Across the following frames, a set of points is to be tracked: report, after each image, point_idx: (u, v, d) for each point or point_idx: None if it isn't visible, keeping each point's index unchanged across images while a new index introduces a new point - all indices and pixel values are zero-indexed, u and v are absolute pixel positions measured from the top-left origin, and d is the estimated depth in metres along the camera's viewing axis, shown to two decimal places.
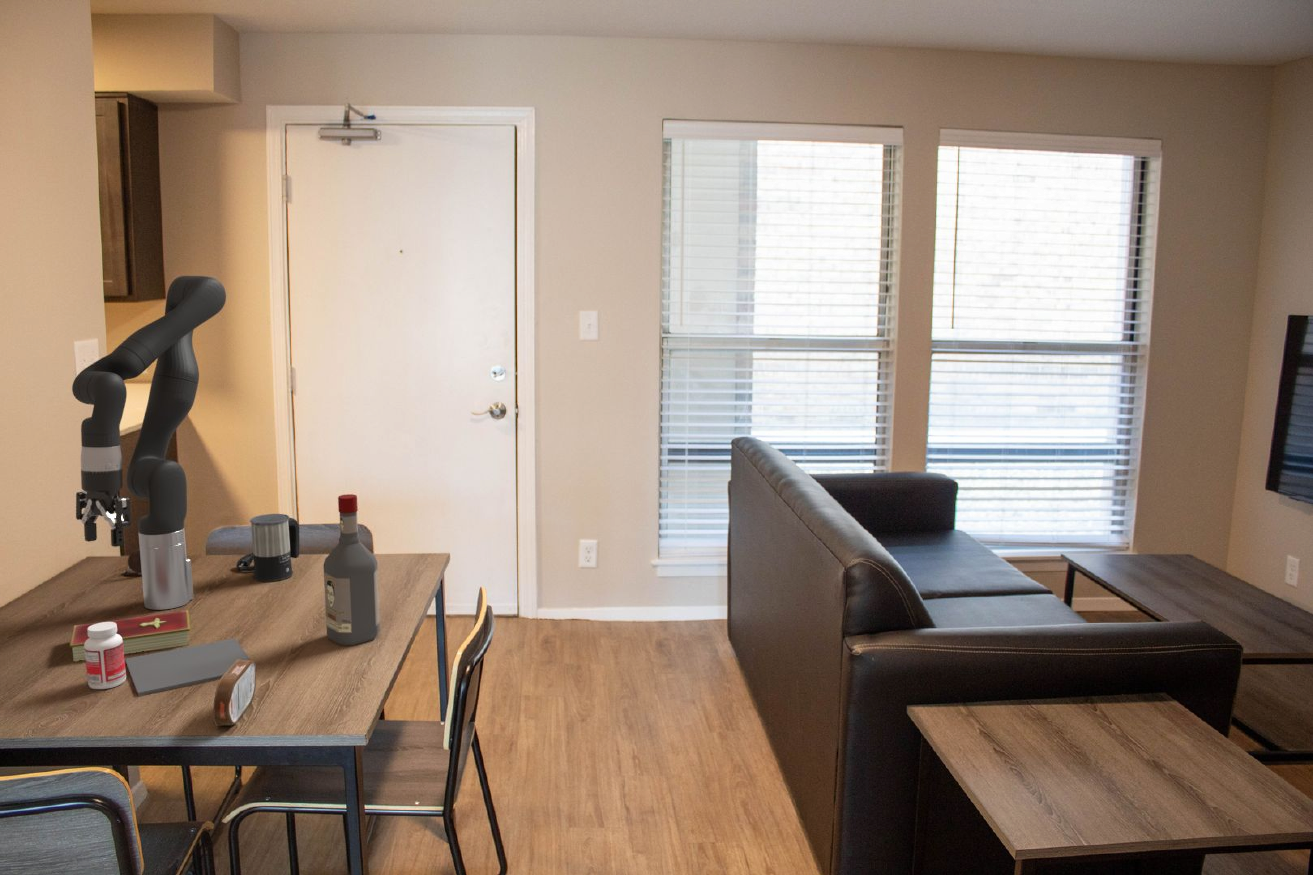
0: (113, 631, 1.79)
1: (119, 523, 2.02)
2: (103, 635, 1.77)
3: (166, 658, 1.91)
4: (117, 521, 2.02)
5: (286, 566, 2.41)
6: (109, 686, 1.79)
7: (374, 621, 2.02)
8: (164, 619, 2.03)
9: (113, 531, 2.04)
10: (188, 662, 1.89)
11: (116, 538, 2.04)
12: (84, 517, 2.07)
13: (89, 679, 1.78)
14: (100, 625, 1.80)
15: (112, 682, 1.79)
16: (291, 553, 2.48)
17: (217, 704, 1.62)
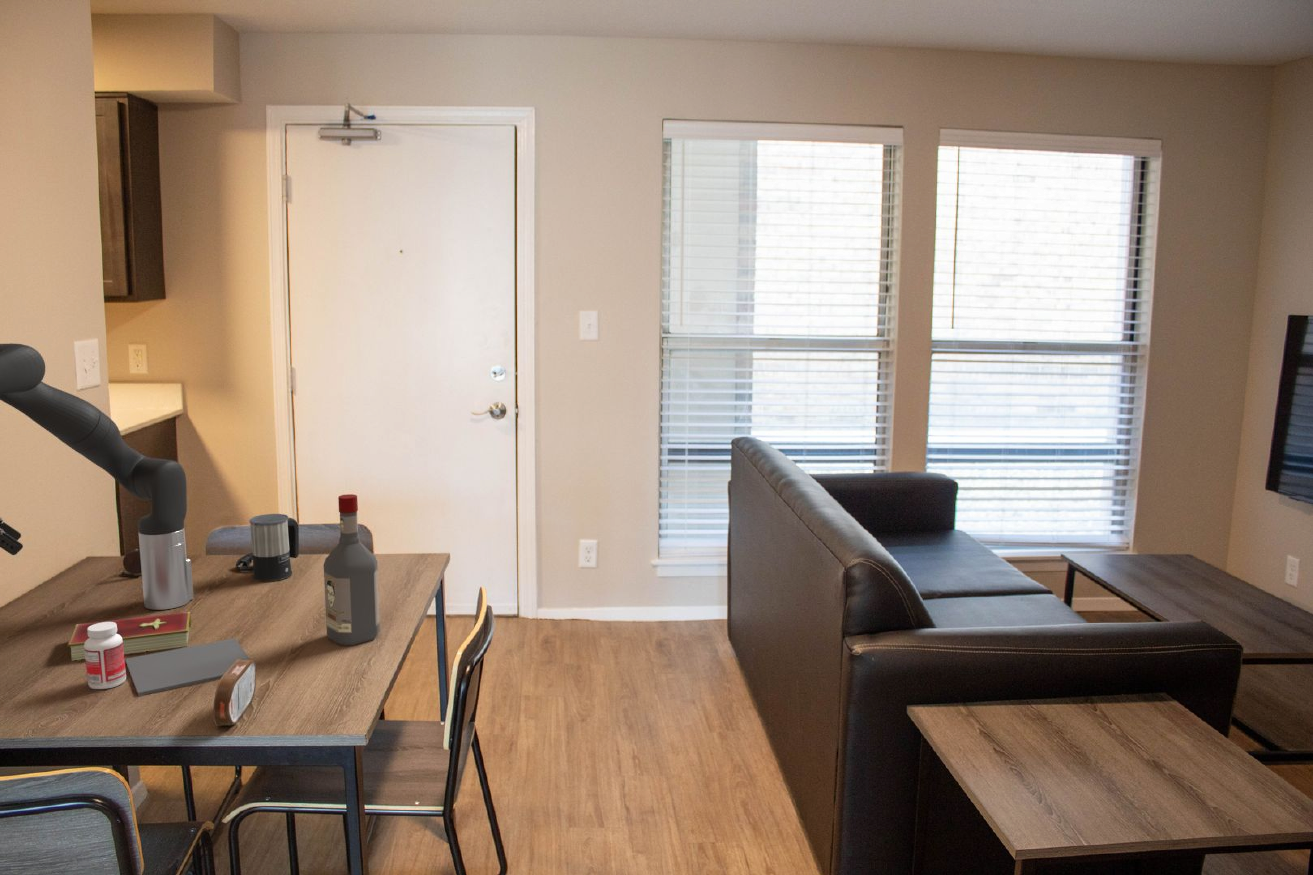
0: (113, 631, 1.79)
1: None
2: (103, 635, 1.77)
3: (166, 658, 1.91)
4: None
5: (285, 566, 2.41)
6: (109, 686, 1.79)
7: (374, 621, 2.02)
8: (165, 620, 2.03)
9: None
10: (188, 662, 1.89)
11: (6, 548, 1.66)
12: None
13: (89, 679, 1.78)
14: (100, 625, 1.80)
15: (112, 682, 1.79)
16: (290, 553, 2.48)
17: (217, 704, 1.62)
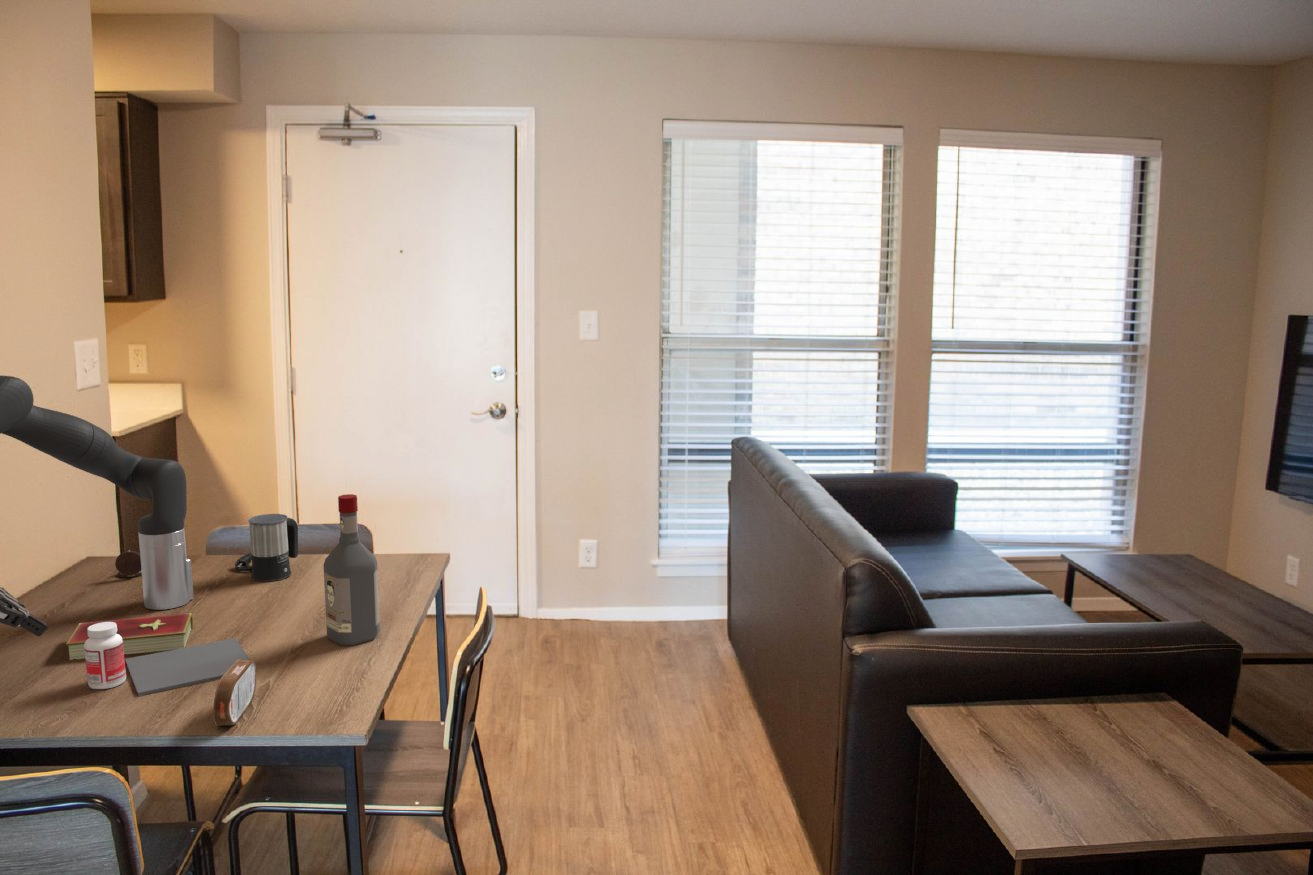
0: (113, 631, 1.79)
1: None
2: (103, 635, 1.77)
3: (166, 658, 1.91)
4: None
5: (284, 566, 2.41)
6: (109, 686, 1.79)
7: (374, 621, 2.02)
8: (165, 621, 2.02)
9: (23, 626, 1.71)
10: (188, 662, 1.89)
11: None
12: None
13: (89, 679, 1.78)
14: (100, 625, 1.80)
15: (112, 682, 1.79)
16: (290, 553, 2.48)
17: (217, 704, 1.62)
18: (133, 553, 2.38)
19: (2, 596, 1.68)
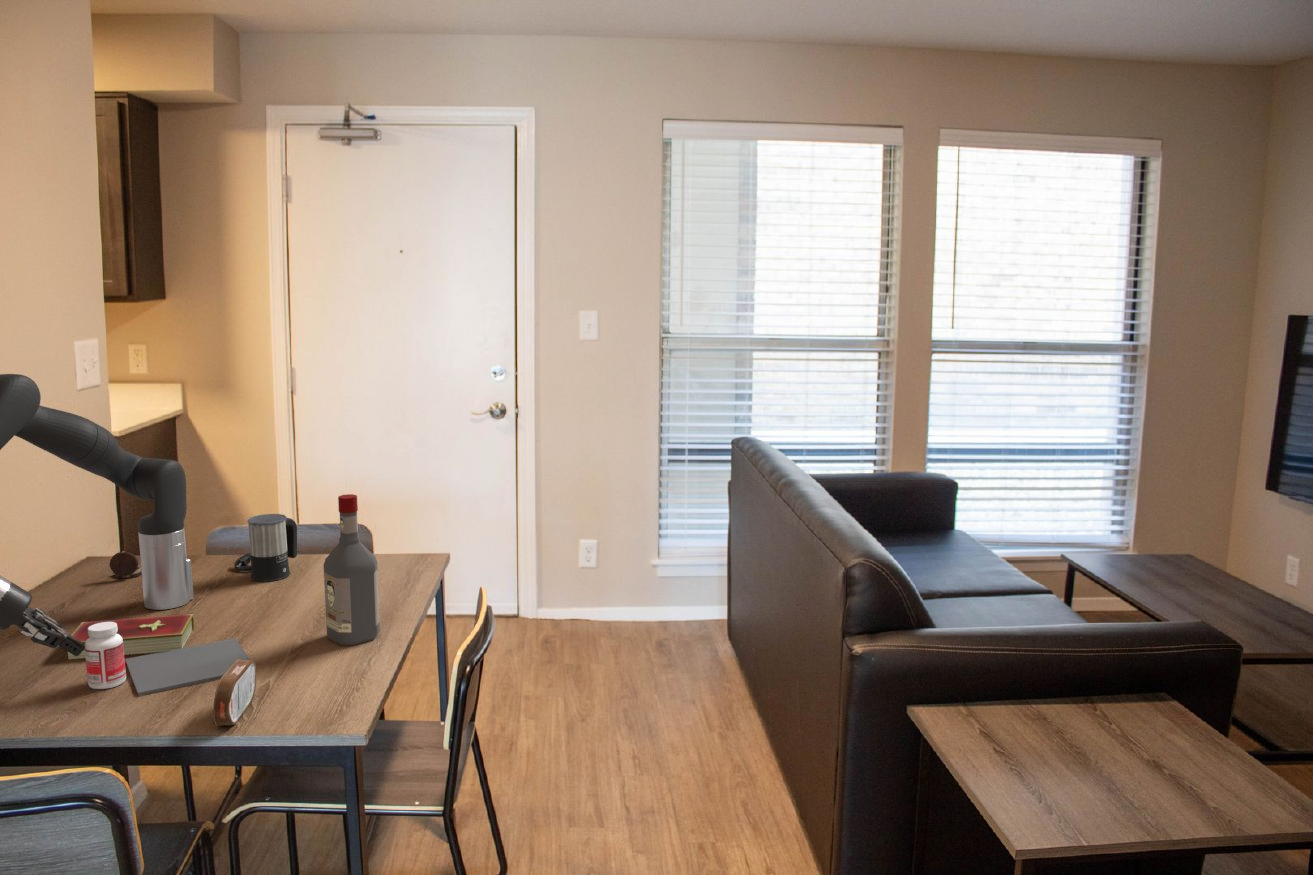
0: (113, 631, 1.79)
1: None
2: (103, 635, 1.77)
3: (166, 658, 1.91)
4: None
5: (283, 566, 2.41)
6: (109, 686, 1.79)
7: (374, 621, 2.02)
8: (165, 622, 2.02)
9: (61, 646, 1.75)
10: (188, 662, 1.89)
11: (70, 650, 1.76)
12: None
13: (89, 679, 1.78)
14: (100, 625, 1.80)
15: (112, 682, 1.79)
16: (289, 553, 2.48)
17: (217, 704, 1.62)
18: (127, 554, 2.37)
19: (41, 618, 1.72)
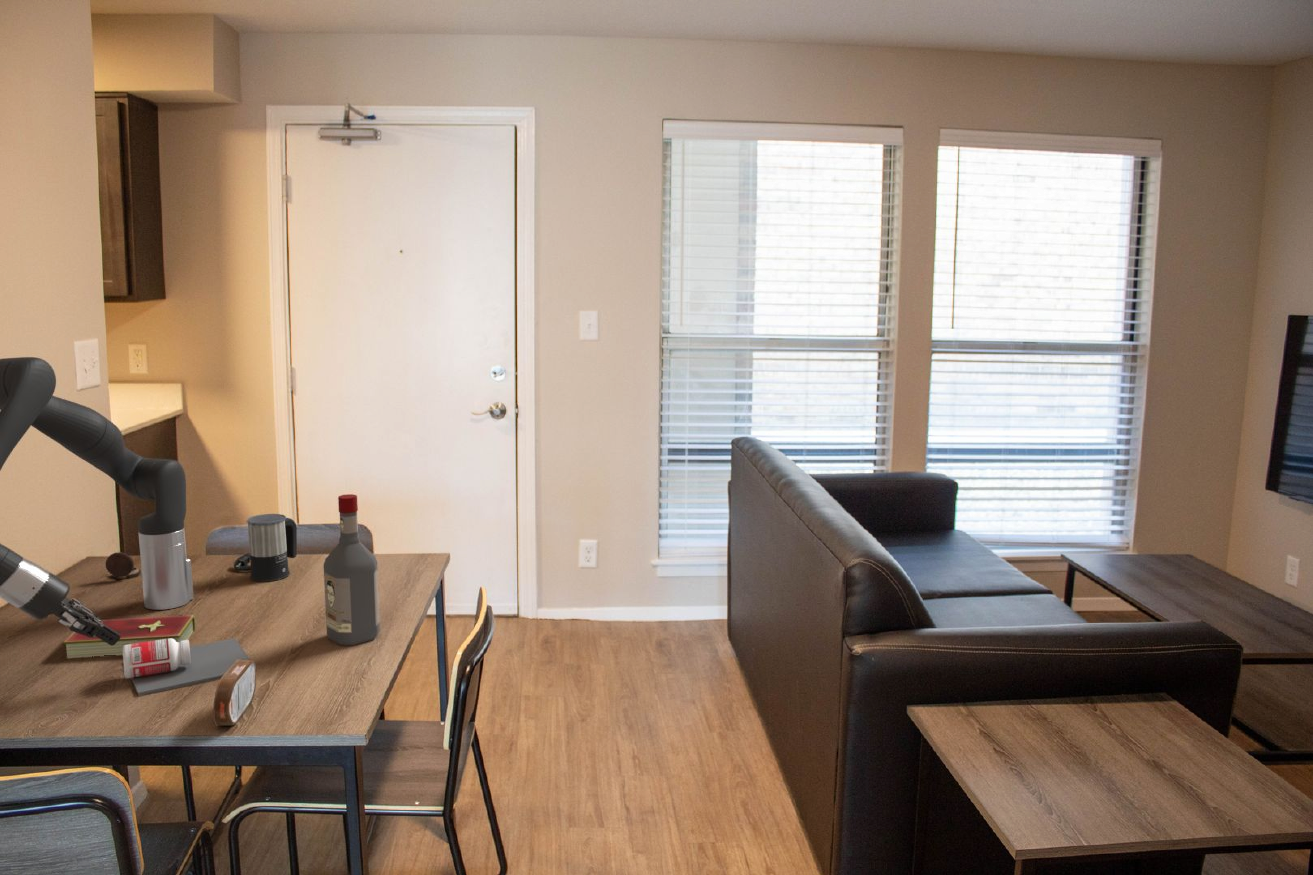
0: (185, 664, 1.85)
1: (88, 635, 1.75)
2: (184, 659, 1.84)
3: None
4: None
5: (283, 566, 2.41)
6: (126, 670, 1.79)
7: (374, 621, 2.02)
8: (165, 622, 2.02)
9: (97, 636, 1.78)
10: None
11: (106, 640, 1.79)
12: None
13: (133, 650, 1.80)
14: None
15: (130, 672, 1.80)
16: (288, 553, 2.48)
17: (217, 704, 1.62)
18: (122, 555, 2.36)
19: (79, 607, 1.75)
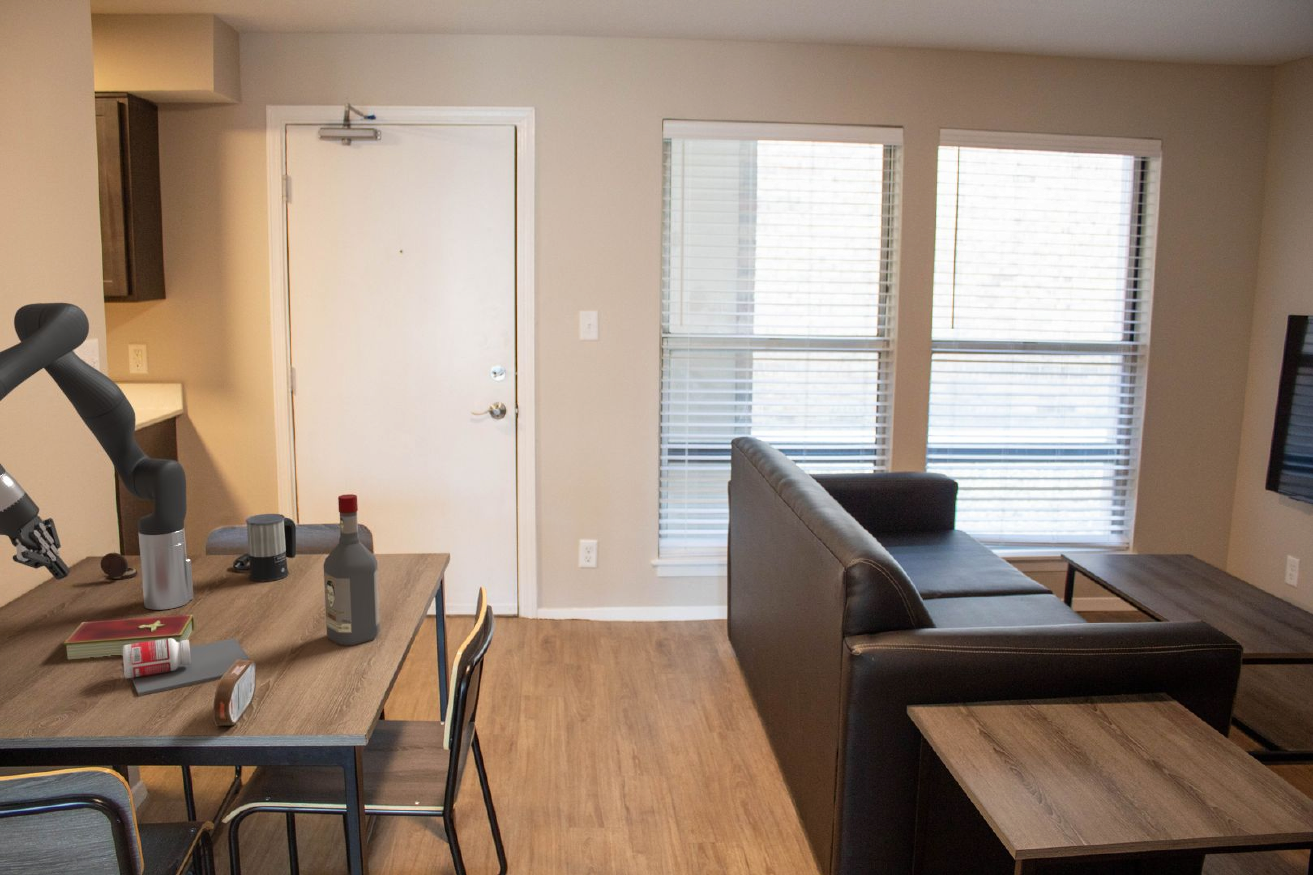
0: (185, 664, 1.85)
1: None
2: (184, 658, 1.84)
3: None
4: None
5: (282, 566, 2.41)
6: (126, 670, 1.79)
7: (374, 621, 2.02)
8: (165, 622, 2.02)
9: None
10: None
11: None
12: None
13: (133, 650, 1.80)
14: None
15: (130, 672, 1.80)
16: (287, 553, 2.48)
17: (217, 704, 1.62)
18: (116, 555, 2.36)
19: (36, 537, 1.74)
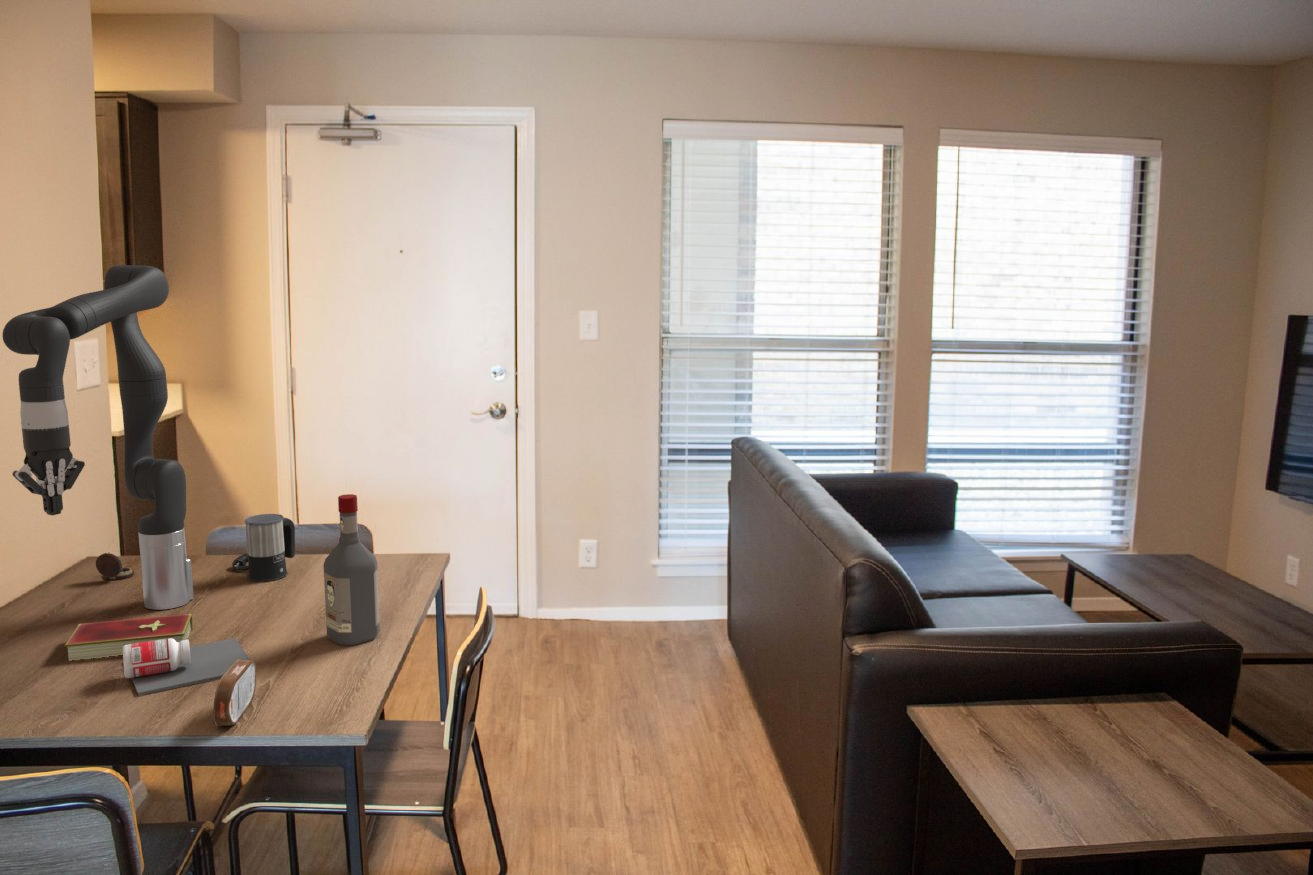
0: (185, 664, 1.85)
1: None
2: (184, 658, 1.84)
3: None
4: None
5: (280, 566, 2.41)
6: (126, 670, 1.79)
7: (374, 621, 2.02)
8: (164, 622, 2.02)
9: None
10: None
11: None
12: None
13: (133, 650, 1.80)
14: None
15: (130, 672, 1.80)
16: (286, 553, 2.48)
17: (217, 704, 1.62)
18: (110, 556, 2.35)
19: (45, 468, 1.83)
